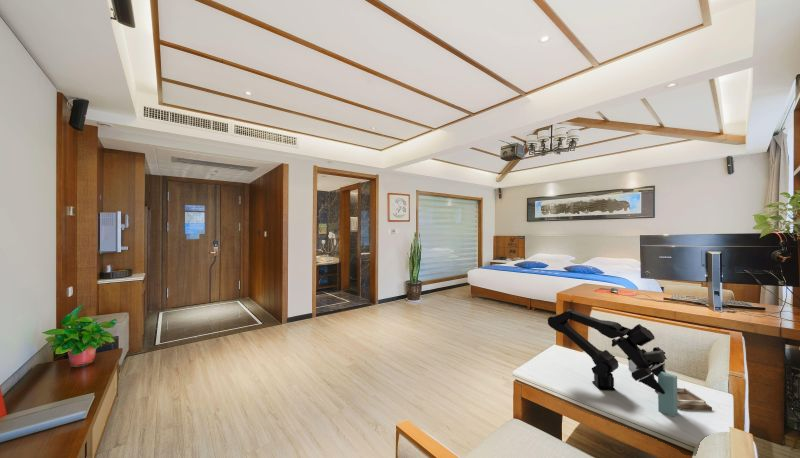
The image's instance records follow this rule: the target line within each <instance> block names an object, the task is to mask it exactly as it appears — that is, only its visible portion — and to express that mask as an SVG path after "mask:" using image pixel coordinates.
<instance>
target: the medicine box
mask: <svg viewBox="0 0 800 458" xmlns="http://www.w3.org/2000/svg"><path fill="white" fill-rule="evenodd" d="M627 360H628V359H627ZM627 366H628V371H630V373H632V372H634V371H635V370H637V369H636V367H637V366H636V365H635V364H634V363H633V362H632V361H631V360H628V365H627Z"/></svg>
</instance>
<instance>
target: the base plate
mask: <svg viewBox="0 0 800 458" xmlns="http://www.w3.org/2000/svg"><path fill="white" fill-rule="evenodd" d="M654 393H656V394H658V391H656V390H654ZM677 406H678V410H700V411H703V410H704V411H705V410H706V411H712V410H713V407H712V406H711V405H709V404H707V401H705V400H704V399H703V398H701V397H700V396H698V395H696V394H695V393H694V392H692V391H690V390H688V389H687V388H685V387H677ZM707 409H708V410H707ZM709 409H711V410H709Z"/></svg>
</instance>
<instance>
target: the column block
mask: <svg viewBox="0 0 800 458" xmlns="http://www.w3.org/2000/svg"><path fill="white" fill-rule="evenodd" d="M657 382H658V384H659V385H660V386H661V387H662V389H663V390H664V391H665V394H661V393H660V392H658V393H657V395H658V396H657V402H658V408H657V409H658V412H659V413H663V414H666V415H668V416H670V417H672V418H675V416H676V415H677V414H678V413H679V412H678V411H679V409H678V406H677V388H678V375H675V374H671V373H669V372H666V373H665V372H661V373H660V374H658V377H657Z"/></svg>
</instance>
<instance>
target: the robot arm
mask: <svg viewBox="0 0 800 458" xmlns="http://www.w3.org/2000/svg"><path fill="white" fill-rule="evenodd" d="M570 320H571V321H573V322H576V323H579V324H581V325H583V326H586V327H589V328H591V329H595V330H596V331H598V332H599V333H600V334H601V335H603V336H604V337H607V338H609V339H611V347H612V348H613V347H616V346H618V347H619V348H620V350H621V351H622V352H623V353H624V354H625V355H626V356H627V358H626V359H627V360H631V361H632V362H633V363H634V364H635V365H636V366H637V367H636V369H637V370H635V371H634V372H631V377H632V379H634V381H635V382H637V381H638V382H639V383H642V384H643V385H645V386H647V387H650V388H651V389H653V390H654V391H655V390H656V391H658V392H660V393H661V394H665V391H664V390H663V389H662V387H661V386H660V385H659V384H658V380H656V379H655V376H656V377H657V378H658V374H660V373H661V372H665V373H667V371H666V370H665V367H666V363H665V360H668V358H667V356H666V351H664V350H663V349H661V348H660V347H659V346H656V347H653V348H652V350H650V351H647V350H646V349H644V348H642V349H641V348H640V347H643V346H645V345H646V344H648V343H650V342H653V340H655V335H654V334H653V332H652V331H651V330H650V329H648V328H646V327H645V326H642V325H641V324H640V323H638V324H636V325H635V326H634V327H632V328H629V327H626V326H623V325H622V324H621V323H619V322H617V321H611V320H605V319H604V320H603V319H598V318H596V317H592V316H590V315H587V314H584V313H581V312H578V311H576V310H574V309H567V310H565V311H564V312H562V313H560V314H559V313H558V314H554V315H552V316H549V317H548V318H547V324H548V325H547V326H549V327H550V328H551V329H552V330H554V331H556V332H559V333H561V334H563V335H564V336H566V337H567V338H568V339H569V340H570V341H571V342H572V343H573V344H575V345H576V346H577V347H578V348H580V349H581V350H582V351H583V352H584V353H585V354H587V355H588V357H590V358H591V360H592V362H593V364H594V365H595V366H593V367H591V371H592V374H593V380H592V381H591V382H592V383H593V385H594V386H596V388H597V389H598V390H601V391H602V390H603V391H605V390H606V391H615V390H616V388H615V378H614V375H613V372H615V370H617V369H618V368H619V361H618V359H616V356H615V355H613V354H611V353H610V352H609V351H608V349H605V350H601V349H598V348H597V347H596V346H595V345H593V344H592V343H591V341H588V340H587V339H586V338H585V337H584V336H582V335H581V334H580V333H579V332H578V331H576V330H575V329H574V328H573V327H572V326H571V325H570V323H569V321H570ZM625 336H626V337H625ZM616 338H617V339H616Z"/></svg>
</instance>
